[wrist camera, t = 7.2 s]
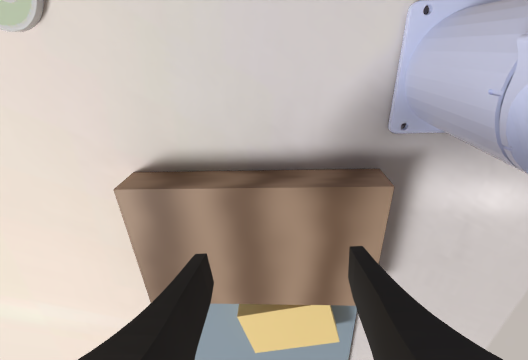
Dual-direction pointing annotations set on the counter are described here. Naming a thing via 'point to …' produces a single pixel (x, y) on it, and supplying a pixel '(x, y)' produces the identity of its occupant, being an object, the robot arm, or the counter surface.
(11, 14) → the pale green spoon
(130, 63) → the counter surface
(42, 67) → the counter surface
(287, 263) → the brown wooden board
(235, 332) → the mat
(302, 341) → the yellow flat block
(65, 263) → the counter surface
